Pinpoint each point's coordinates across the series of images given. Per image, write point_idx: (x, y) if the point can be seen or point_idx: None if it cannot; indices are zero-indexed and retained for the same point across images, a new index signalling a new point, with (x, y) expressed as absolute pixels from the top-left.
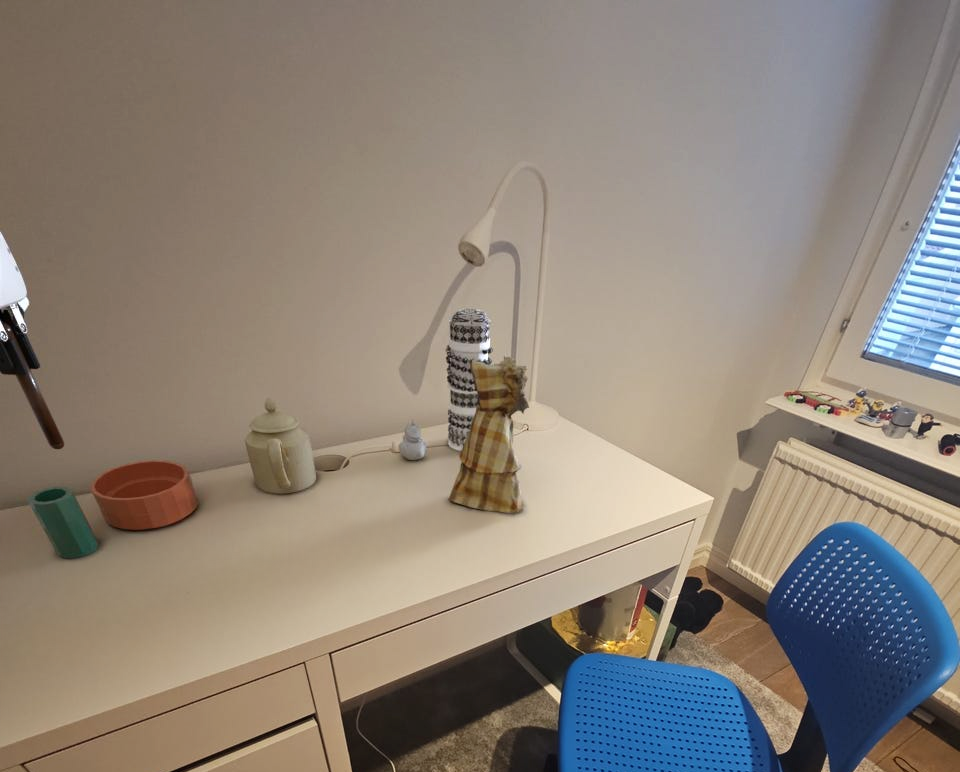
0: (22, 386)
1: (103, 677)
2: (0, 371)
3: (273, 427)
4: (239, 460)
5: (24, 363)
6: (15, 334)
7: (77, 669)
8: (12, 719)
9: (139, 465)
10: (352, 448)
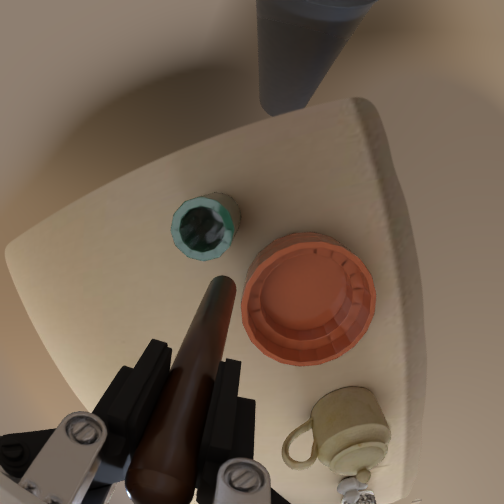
0: (180, 347)
1: (37, 290)
2: (152, 341)
3: (336, 466)
4: (416, 358)
5: None
6: (199, 484)
7: (41, 270)
8: (11, 242)
9: (369, 293)
10: (392, 444)
